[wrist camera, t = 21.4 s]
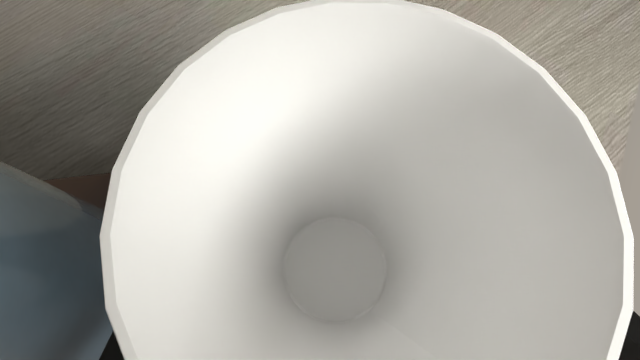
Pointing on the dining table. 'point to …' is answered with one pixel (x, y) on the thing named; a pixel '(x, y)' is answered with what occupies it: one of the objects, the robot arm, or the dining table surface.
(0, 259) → the slate cup
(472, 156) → the cup
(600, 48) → the dining table surface
